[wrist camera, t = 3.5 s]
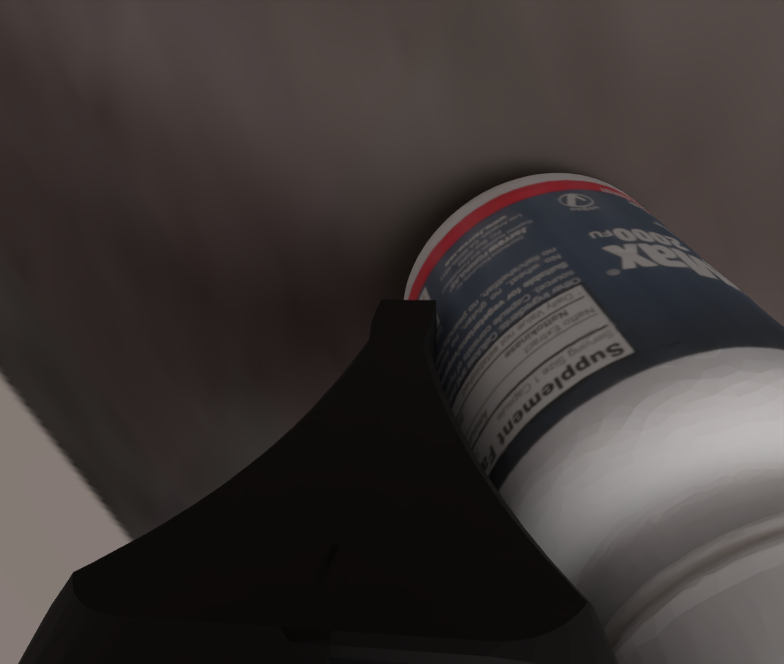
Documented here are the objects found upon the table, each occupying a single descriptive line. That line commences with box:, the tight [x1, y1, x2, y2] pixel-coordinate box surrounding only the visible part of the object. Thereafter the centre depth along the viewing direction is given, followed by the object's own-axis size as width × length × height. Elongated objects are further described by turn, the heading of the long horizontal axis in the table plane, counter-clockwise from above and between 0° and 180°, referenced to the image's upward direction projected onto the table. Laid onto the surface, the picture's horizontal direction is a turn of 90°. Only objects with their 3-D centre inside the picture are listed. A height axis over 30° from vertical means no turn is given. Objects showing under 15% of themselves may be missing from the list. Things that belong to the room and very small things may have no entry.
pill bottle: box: [404, 173, 784, 664], centre depth 10 cm, size 5×5×9 cm
